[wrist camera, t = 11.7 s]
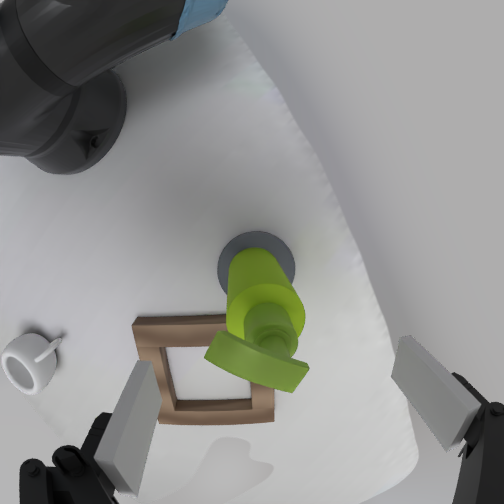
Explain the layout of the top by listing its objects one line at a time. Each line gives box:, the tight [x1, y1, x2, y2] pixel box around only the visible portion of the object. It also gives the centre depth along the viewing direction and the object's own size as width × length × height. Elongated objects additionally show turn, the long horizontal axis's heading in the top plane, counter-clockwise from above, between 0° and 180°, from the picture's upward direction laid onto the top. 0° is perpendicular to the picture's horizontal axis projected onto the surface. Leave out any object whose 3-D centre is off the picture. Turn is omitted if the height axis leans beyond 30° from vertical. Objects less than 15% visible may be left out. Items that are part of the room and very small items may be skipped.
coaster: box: [218, 232, 295, 294], centre depth 34 cm, size 9×9×1 cm
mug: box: [1, 333, 62, 395], centre depth 32 cm, size 12×8×8 cm
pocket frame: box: [132, 315, 274, 425], centre depth 36 cm, size 17×17×2 cm
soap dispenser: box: [204, 247, 309, 393], centre depth 24 cm, size 6×7×20 cm
